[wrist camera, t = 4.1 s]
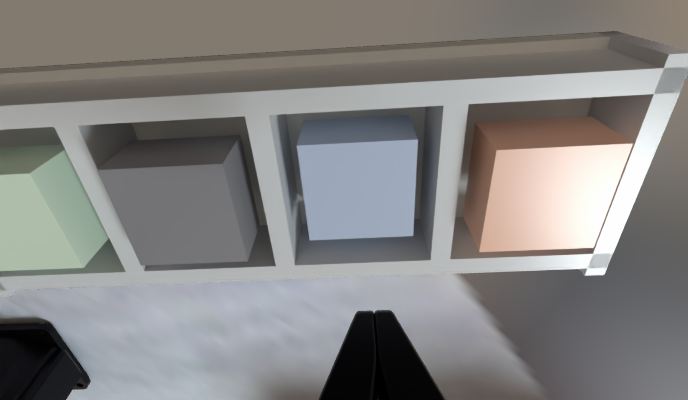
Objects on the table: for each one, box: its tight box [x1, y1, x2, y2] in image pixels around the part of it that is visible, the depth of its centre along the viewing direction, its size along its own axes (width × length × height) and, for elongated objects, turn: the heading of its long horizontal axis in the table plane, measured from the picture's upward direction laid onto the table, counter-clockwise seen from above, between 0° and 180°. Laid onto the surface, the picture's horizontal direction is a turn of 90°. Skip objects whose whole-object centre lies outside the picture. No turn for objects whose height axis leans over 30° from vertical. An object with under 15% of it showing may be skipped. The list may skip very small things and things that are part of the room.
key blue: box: [297, 115, 418, 240], centre depth 15 cm, size 4×4×2 cm
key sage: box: [0, 144, 109, 271], centre depth 15 cm, size 4×4×2 cm
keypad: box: [0, 31, 688, 297], centre depth 16 cm, size 27×9×4 cm, turn 93°
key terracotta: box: [463, 116, 633, 252], centre depth 14 cm, size 4×4×2 cm
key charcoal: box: [97, 135, 260, 266], centre depth 15 cm, size 4×4×2 cm
